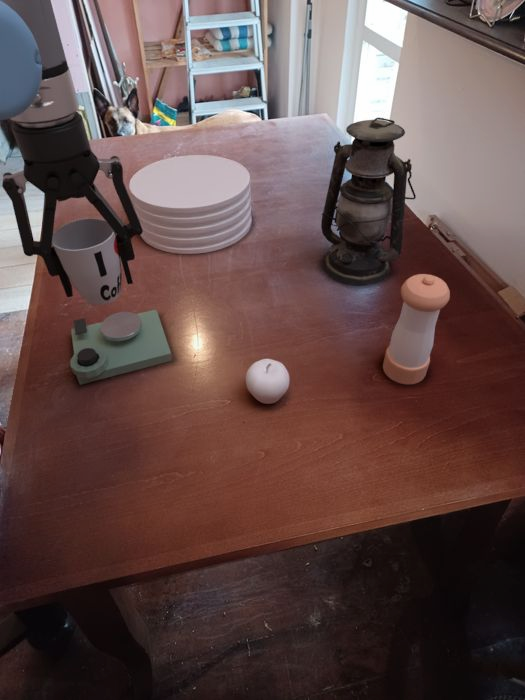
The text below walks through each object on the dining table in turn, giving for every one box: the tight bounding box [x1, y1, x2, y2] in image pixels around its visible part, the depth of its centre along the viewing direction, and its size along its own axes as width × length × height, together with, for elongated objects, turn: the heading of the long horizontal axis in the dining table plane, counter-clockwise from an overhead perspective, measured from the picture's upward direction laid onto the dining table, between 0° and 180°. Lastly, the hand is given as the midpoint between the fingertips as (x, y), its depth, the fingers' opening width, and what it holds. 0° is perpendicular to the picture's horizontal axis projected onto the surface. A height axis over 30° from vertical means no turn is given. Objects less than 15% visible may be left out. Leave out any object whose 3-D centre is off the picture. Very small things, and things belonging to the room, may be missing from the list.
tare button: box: [77, 348, 98, 367], centre depth 80 cm, size 3×3×2 cm
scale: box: [69, 309, 173, 386], centre depth 85 cm, size 16×14×4 cm
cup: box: [52, 217, 123, 306], centre depth 66 cm, size 8×8×10 cm
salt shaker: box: [382, 273, 451, 385], centre depth 75 cm, size 7×7×19 cm
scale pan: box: [73, 311, 142, 341], centre depth 86 cm, size 12×9×1 cm
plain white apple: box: [245, 358, 291, 405], centre depth 76 cm, size 7×7×8 cm
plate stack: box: [128, 154, 253, 255], centre depth 115 cm, size 28×28×12 cm
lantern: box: [320, 117, 417, 287], centre depth 96 cm, size 19×19×30 cm
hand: (99, 284), depth 68 cm, fingers closed on cup, 8 cm apart
